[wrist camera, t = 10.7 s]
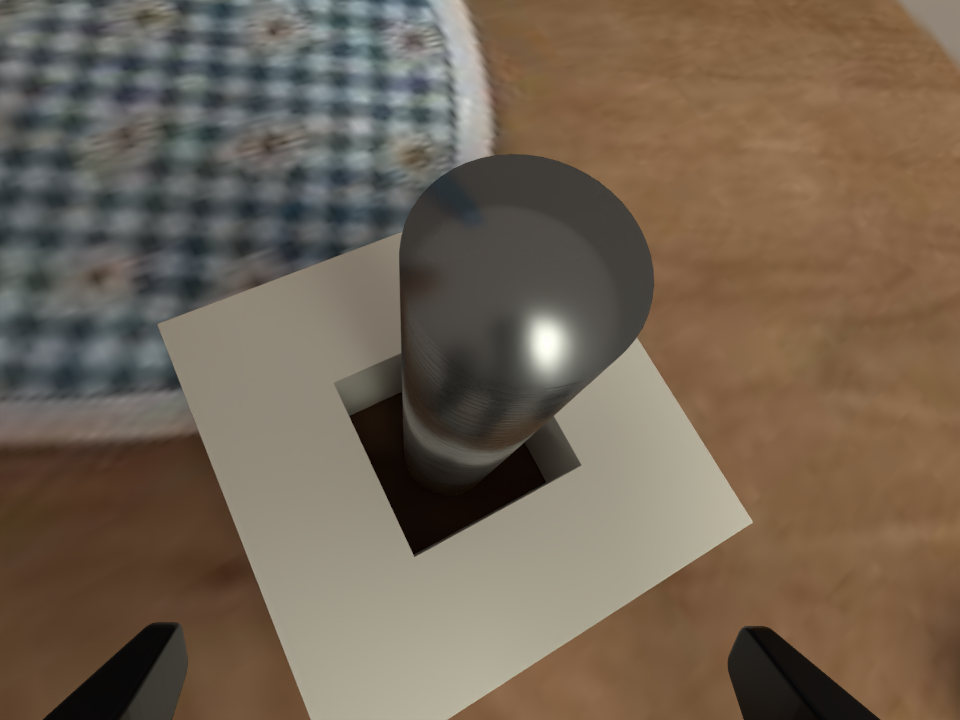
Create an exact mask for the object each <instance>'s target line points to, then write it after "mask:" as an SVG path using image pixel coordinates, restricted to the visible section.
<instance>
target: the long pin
mask: <svg viewBox="0 0 960 720" xmlns="http://www.w3.org/2000/svg"><path fill="white" fill-rule="evenodd" d="M399 280H400V319H401V359H402V399H403V438H404V459H405V463H406V467H407V469H408V471H409V473H410V475H411V476H412V478H413V479H414V480H415V481H416V482H417V483H418V484H419V485H420V486H421V487H423V488H424V489H426V490H428V491H430V492H432V493H435V494H439V495H446V496H450V495H458V494H461V493H464V492H467V491H469V490H470V489H472V488H473V487H475V486H476V485H477V484H478V483H480V482H481V481H482V480H483V479H484V478H485V477H486V476H487V475H488V474H490V473H491V472H492V471H493V470H494V469H495V468H496V467H497V466H498V465H500V464H501V463H502V462H503V461H504V460H505V459H506V458H507V457H508V456H510V455H511V454H512V453H513V452H514V451H515V450H516V449H517V448H519V447H520V446H521V445H522V444H523V443H524V442H525V441H526V440H527V439H529V438H530V437H531V436H532V435H533V434H534V433H535V432H536V431H537V430H539V429H540V428H541V427H542V426H543V425H544V424H545V423H546V422H547V421H549V420H550V419H551V418H552V417H553V416H554V415H555V414H556V413H558V412H559V411H560V410H561V409H562V408H563V407H564V406H565V405H566V404H568V403H569V402H570V401H571V400H572V399H573V398H574V397H575V396H576V395H578V394H579V393H580V392H581V391H582V390H583V389H584V388H585V387H586V386H588V385H589V384H590V383H591V382H592V381H593V380H594V379H595V378H597V377H598V376H599V375H600V374H601V373H602V372H603V371H604V370H605V369H607V368H608V367H609V366H610V365H611V364H612V363H613V362H614V361H615V360H617V359H618V358H619V357H620V356H621V355H622V354H623V353H624V352H625V351H626V350H627V349H628V348H629V347H630V345H631V344H632V343H633V342H634V341H635V339H636V338H637V336H638V334H639V333H640V331H641V330H642V328H643V326H644V324H645V321H646V319H647V316H648V314H649V311H650V307H651V303H652V298H653V288H654V275H653V265H652V260H651V255H650V252H649V248H648V245H647V242H646V240H645V238H644V235H643V233H642V231H641V229H640V227H639V225H638V224H637V222H636V221H635V219H634V217H633V216H632V214H631V213H630V212H629V210H628V209H627V208H626V207H625V205H624V204H623V203H622V202H621V201H620V200H619V199H618V198H617V197H616V196H615V195H614V194H613V193H612V192H611V191H610V190H609V189H607V188H606V187H605V186H604V185H602V184H601V183H600V182H599V181H597V180H595V179H594V178H592V177H591V176H589V175H588V174H586V173H584V172H582V171H580V170H578V169H576V168H574V167H572V166H569V165H567V164H564V163H561V162H559V161H555V160H552V159H548V158H544V157H538V156H531V155H518V154H508V155H495V156H490V157H485V158H480V159H477V160H474V161H471V162H468V163H465V164H463V165H461V166H459V167H457V168H454V169H453V170H451V171H449V172H448V173H446V174H445V175H443V176H441V177H440V178H439V179H438V180H436V181H435V182H434V183H433V184H432V185H431V186H429V187H428V189H427V190H426V191H425V192H424V193H423V194H422V195H421V196H420V198H419V199H418V201H417V202H416V204H415V205H414V207H413V208H412V210H411V212H410V214H409V216H408V218H407V220H406V222H405V226H404V229H403V232H402V236H401V241H400V249H399Z"/></svg>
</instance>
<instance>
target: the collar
mask: <svg viewBox="0 0 960 720" xmlns="http://www.w3.org/2000/svg"><path fill="white" fill-rule="evenodd" d="M401 236H402V232H400V233H397V234H395V235H392V236H389V237H387V238H384V239H382V240H379V241H376V242H374V243H371V244H368V245H366V246H363V247H360V248H358V249H355V250H352V251H350V252H347V253H344V254H342V255H339V256H336V257H334V258H331V259H328V260H326V261H323V262H321V263H318V264H315V265H313V266H310V267H307V268H305V269H302V270H299V271H297V272H294V273H291V274H289V275H286V276H283V277H281V278H278V279H275V280H273V281H270V282H267V283H265V284H262V285H260V286H257V287H254V288H252V289H249V290H246V291H244V292H241V293H238V294H236V295H233V296H230V297H228V298H225V299H222V300H220V301H217V302H214V303H212V304H209V305H206V306H204V307H201V308H198V309H196V310H193V311H191V312H188V313H185V314H183V315H180V316H177V317H175V318H172V319H169V320H167V321H164V322H161V323H159V324H157V325H158V328H159V330H160V333H161V335H162V338H163V340H164V343H165V346H166V348H167V351H168V353H169V356H170V358H171V361H172V364H173V366H174V369H175V371H176V374H177V376H178V379H179V382H180V384H181V387H182V389H183V392H184V394H185V397H186V400H187V402H188V405H189V407H190V410H191V412H192V415H193V418H194V420H195V423H196V425H197V428H198V431H199V433H200V436H201V438H202V441H203V443H204V446H205V449H206V451H207V454H208V456H209V459H210V461H211V464H212V467H213V469H214V472H215V474H216V477H217V479H218V482H219V485H220V487H221V490H222V492H223V495H224V497H225V500H226V503H227V505H228V508H229V510H230V513H231V515H232V518H233V521H234V523H235V526H236V528H237V531H238V533H239V536H240V539H241V541H242V544H243V546H244V549H245V552H246V554H247V557H248V559H249V562H250V564H251V567H252V570H253V572H254V575H255V577H256V580H257V582H258V585H259V588H260V590H261V593H262V595H263V598H264V600H265V603H266V606H267V608H268V611H269V613H270V616H271V618H272V621H273V624H274V626H275V629H276V631H277V634H278V636H279V639H280V642H281V644H282V647H283V649H284V652H285V655H286V657H287V660H288V662H289V665H290V667H291V670H292V673H293V675H294V678H295V680H296V683H297V685H298V688H299V691H300V693H301V696H302V698H303V701H304V703H305V706H306V709H307V711H308V714H309V716H310V719H311V720H447V719H449V718H450V717H452V716H454V715H455V714H457V713H458V712H460V711H461V710H463V709H464V708H466V707H467V706H469V705H471V704H472V703H474V702H475V701H477V700H478V699H480V698H481V697H483V696H485V695H486V694H488V693H489V692H491V691H492V690H494V689H495V688H497V687H498V686H500V685H502V684H503V683H505V682H506V681H508V680H509V679H511V678H512V677H514V676H516V675H517V674H519V673H520V672H522V671H523V670H525V669H526V668H528V667H529V666H531V665H533V664H534V663H536V662H537V661H539V660H540V659H542V658H543V657H545V656H547V655H548V654H550V653H551V652H553V651H554V650H556V649H557V648H559V647H560V646H562V645H564V644H565V643H567V642H568V641H570V640H571V639H573V638H574V637H576V636H578V635H579V634H581V633H582V632H584V631H585V630H587V629H588V628H590V627H591V626H593V625H595V624H596V623H598V622H599V621H601V620H602V619H604V618H605V617H607V616H609V615H610V614H612V613H613V612H615V611H616V610H618V609H619V608H621V607H622V606H624V605H626V604H627V603H629V602H630V601H632V600H633V599H635V598H636V597H638V596H640V595H641V594H643V593H644V592H646V591H647V590H649V589H650V588H652V587H653V586H655V585H657V584H658V583H660V582H661V581H663V580H664V579H666V578H667V577H669V576H671V575H672V574H674V573H675V572H677V571H678V570H680V569H681V568H683V567H684V566H686V565H688V564H689V563H691V562H692V561H694V560H695V559H697V558H698V557H700V556H702V555H703V554H705V553H706V552H708V551H709V550H711V549H712V548H714V547H715V546H717V545H719V544H720V543H722V542H723V541H725V540H726V539H728V538H729V537H731V536H733V535H734V534H736V533H737V532H739V531H740V530H742V529H743V528H745V527H746V526H748V525H750V524H751V523H753V522H752V520H751V518H750V517H749V515H748V514H747V512H746V510H745V509H744V507H743V506H742V504H741V502H740V501H739V499H738V498H737V496H736V495H735V493H734V491H733V490H732V488H731V487H730V485H729V483H728V482H727V480H726V479H725V477H724V475H723V474H722V472H721V471H720V469H719V467H718V466H717V464H716V463H715V461H714V459H713V458H712V456H711V455H710V453H709V452H708V450H707V448H706V447H705V445H704V444H703V442H702V440H701V439H700V437H699V436H698V434H697V432H696V431H695V429H694V428H693V426H692V424H691V423H690V421H689V420H688V418H687V417H686V415H685V413H684V412H683V410H682V409H681V407H680V405H679V404H678V402H677V401H676V399H675V397H674V396H673V394H672V393H671V391H670V389H669V388H668V386H667V385H666V383H665V381H664V380H663V378H662V377H661V375H660V374H659V372H658V370H657V369H656V367H655V366H654V364H653V362H652V361H651V359H650V358H649V356H648V354H647V353H646V351H645V350H644V348H643V346H642V345H641V343H640V342H639V340H638V339H637V338H636V339H635V341H634V342H633V343H632V344H631V345H630V347H629V348H628V349H627V350H626V351H625V352H624V353H623V354H622V355H621V356H620V357H619V358H618V359H617V360H615V361H614V362H613V363H612V364H611V365H610V366H609V367H608V368H607V369H605V370H604V371H603V372H602V373H601V374H600V375H599V376H598V377H597V378H595V379H594V380H593V381H592V382H591V383H590V384H589V385H588V386H586V387H585V388H584V389H583V390H582V391H581V392H580V393H579V394H578V395H576V396H575V397H574V398H573V399H572V400H571V401H570V402H569V403H568V404H566V405H565V406H564V407H563V408H562V409H561V410H560V411H559V412H558V413H556V414H555V415H554V416H553V417H552V418H551V419H550V420H549V421H547V422H546V423H545V424H544V425H543V426H542V427H541V428H540V429H539V430H537V431H536V432H535V433H534V434H533V435H532V436H531V437H530V438H529V439H527V440H526V441H525V444H526V446H527V448H528V449H529V451H530V453H531V455H532V457H533V459H534V461H535V462H536V464H537V466H538V468H539V470H540V472H541V473H542V475H543V477H544V479H545V481H546V483H544V484H542V485H540V486H539V487H537V488H535V489H533V490H531V491H529V492H528V493H526V494H524V495H522V496H520V497H518V498H517V499H515V500H513V501H511V502H509V503H508V504H506V505H504V506H502V507H500V508H498V509H497V510H495V511H493V512H491V513H489V514H487V515H486V516H484V517H482V518H480V519H478V520H477V521H475V522H473V523H471V524H469V525H467V526H466V527H464V528H462V529H460V530H458V531H456V532H455V533H453V534H451V535H449V536H447V537H445V538H444V539H442V540H440V541H438V542H436V543H435V544H433V545H431V546H429V547H427V548H425V549H424V550H422V551H420V552H418V553H416V554H414V555H413V553H412V551H411V549H410V546H409V544H408V542H407V540H406V538H405V536H404V534H403V531H402V529H401V527H400V525H399V523H398V521H397V518H396V516H395V514H394V512H393V510H392V508H391V506H390V503H389V501H388V499H387V497H386V495H385V493H384V490H383V488H382V486H381V484H380V482H379V480H378V478H377V475H376V473H375V471H374V469H373V467H372V465H371V462H370V460H369V458H368V456H367V454H366V452H365V450H364V447H363V445H362V443H361V441H360V439H359V437H358V434H357V432H356V430H355V428H354V426H353V424H352V421H351V419H350V417H349V416H351V415H353V414H355V413H357V412H359V411H361V410H364V409H366V408H368V407H370V406H372V405H375V404H377V403H379V402H381V401H383V400H385V399H388V398H390V397H392V396H394V395H396V394H398V393H401V392H402V359H401V319H400V280H399V249H400V241H401Z"/></svg>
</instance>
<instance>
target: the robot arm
mask: <svg viewBox="0 0 960 720" xmlns="http://www.w3.org/2000/svg"><path fill="white" fill-rule="evenodd" d="M187 666H188V656H187V651H186V645H185V639H184V634H183V629H182V626H181V625H180V624H179V623H176V622H156V623H152V624H150V625H148V626H146V627H145V628H144V629H143V630H142V631H141V632H139V633H138V634H137V635H136V636H135V637H134V638H133V639H132V640H131V641H129V642H128V643H127V644H126V645H125V646H124V647H123V648H122V649H121V650H119V651H118V652H117V653H116V654H115V655H114V656H113V657H112V658H111V659H109V660H108V661H107V662H106V663H105V664H104V665H103V666H102V667H101V668H99V669H98V670H97V671H96V672H95V673H94V674H93V675H92V676H91V677H89V678H88V679H87V680H86V681H85V682H84V683H83V684H82V685H81V686H79V687H78V688H77V689H76V690H75V691H74V692H73V693H72V694H71V695H69V696H68V697H67V698H66V699H65V700H64V701H63V702H62V703H61V704H59V705H58V706H57V707H56V708H55V709H54V710H53V711H52V712H51V713H49V714H48V715H47V716H46V717H45V718H44V719H43V720H172V718H173V715H174V712H175V709H176V705H177V702H178V699H179V696H180V692H181V689H182V686H183V683H184V679H185V676H186V672H187ZM728 671H729V675H730V678H731V682H732V685H733V688H734V691H735V694H736V697H737V700H738V703H739V706H740V710H741V713H742V716H743V719H744V720H880V719H879V718H878V717H877V716H875V715H874V714H873V713H872V712H871V711H869V710H868V709H867V708H866V707H865V706H863V705H862V704H861V703H860V702H858V701H857V700H856V699H855V698H854V697H852V696H851V695H850V694H849V693H848V692H846V691H845V690H844V689H843V688H842V687H840V686H839V685H838V684H837V683H836V682H834V681H833V680H832V679H831V678H830V677H828V676H827V675H826V674H825V673H824V672H822V671H821V670H820V669H819V668H818V667H816V666H815V665H814V664H813V663H812V662H810V661H809V660H808V659H807V658H805V657H804V656H803V655H802V654H801V653H799V652H798V651H797V650H796V649H795V648H793V647H792V646H791V645H790V644H789V643H787V642H786V641H785V640H784V639H783V638H781V637H780V636H779V635H778V634H777V633H775V632H774V631H773V630H771V629H770V628H768V627H765V626H744V627H743V628H742V629H741V630H740V631H739V633H738V636H737V638H736V640H735V643H734V645H733V647H732V650H731V652H730V654H729V657H728Z"/></svg>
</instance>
